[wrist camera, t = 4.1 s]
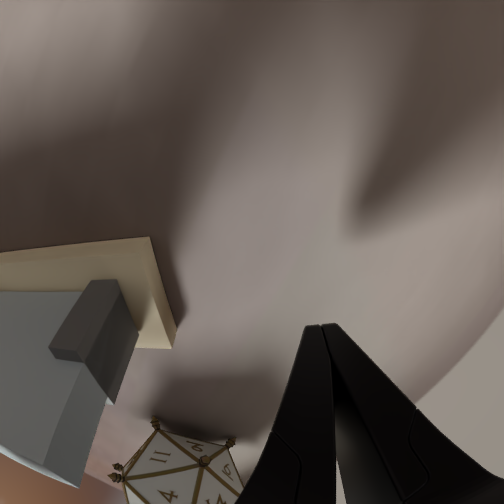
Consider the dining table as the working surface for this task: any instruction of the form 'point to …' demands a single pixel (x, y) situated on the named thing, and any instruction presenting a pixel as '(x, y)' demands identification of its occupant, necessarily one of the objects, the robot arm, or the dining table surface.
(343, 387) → the robot arm
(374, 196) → the dining table surface
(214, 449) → the game die
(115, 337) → the panel
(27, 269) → the rail
